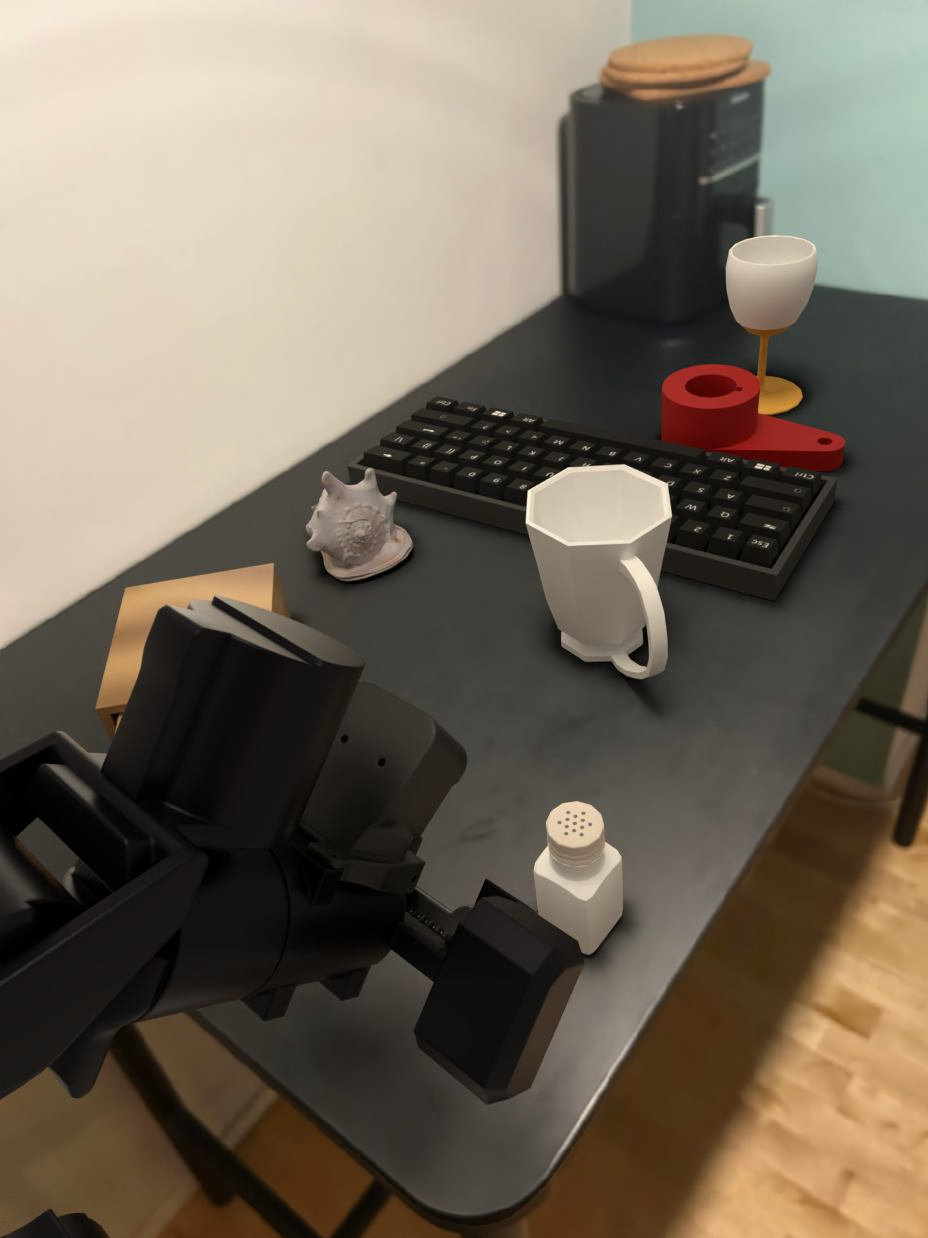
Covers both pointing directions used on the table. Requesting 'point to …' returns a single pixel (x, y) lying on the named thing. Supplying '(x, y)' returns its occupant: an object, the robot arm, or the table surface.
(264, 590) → the cabinet
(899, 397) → the table surface
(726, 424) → the lever
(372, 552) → the seashell
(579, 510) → the cup
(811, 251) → the cup
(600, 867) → the pepper shaker
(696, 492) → the computer keyboard
